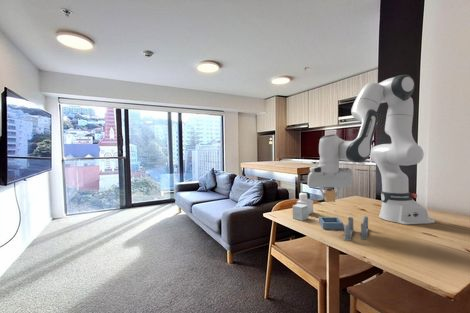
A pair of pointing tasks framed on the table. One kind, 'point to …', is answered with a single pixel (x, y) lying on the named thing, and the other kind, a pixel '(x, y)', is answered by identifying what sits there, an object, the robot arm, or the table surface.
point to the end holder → (331, 223)
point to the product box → (300, 212)
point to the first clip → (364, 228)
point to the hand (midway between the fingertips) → (329, 196)
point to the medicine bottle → (306, 201)
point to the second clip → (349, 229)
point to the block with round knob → (329, 195)
